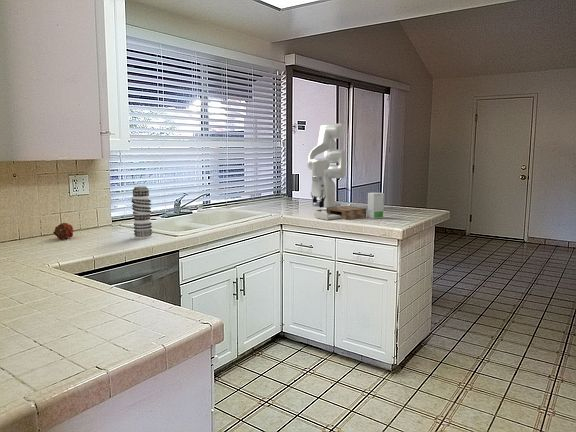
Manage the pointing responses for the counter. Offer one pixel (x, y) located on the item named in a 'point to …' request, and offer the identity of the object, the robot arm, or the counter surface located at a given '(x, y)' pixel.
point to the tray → (326, 215)
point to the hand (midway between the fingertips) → (318, 206)
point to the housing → (347, 212)
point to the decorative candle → (141, 212)
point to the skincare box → (375, 205)
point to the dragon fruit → (63, 231)
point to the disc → (316, 204)
